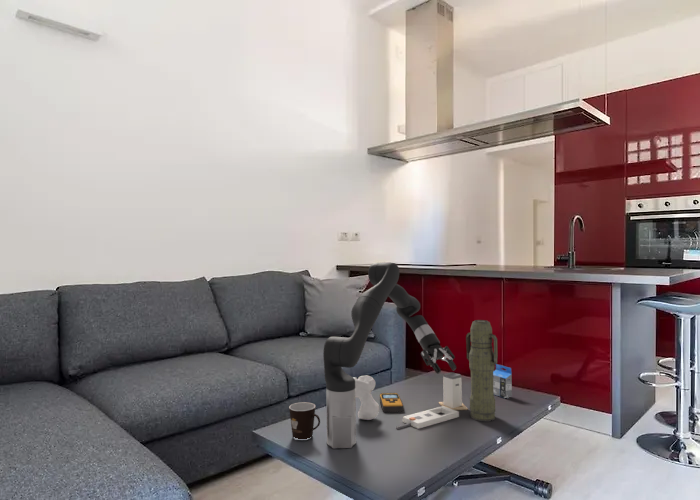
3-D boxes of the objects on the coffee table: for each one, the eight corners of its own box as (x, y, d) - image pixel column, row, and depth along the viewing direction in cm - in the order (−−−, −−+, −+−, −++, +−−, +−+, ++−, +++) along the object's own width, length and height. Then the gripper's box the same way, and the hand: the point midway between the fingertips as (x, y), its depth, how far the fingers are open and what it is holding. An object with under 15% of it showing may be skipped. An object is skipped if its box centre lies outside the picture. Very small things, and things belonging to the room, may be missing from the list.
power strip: (458, 416, 163) (458, 410, 163) (404, 432, 149) (404, 425, 149) (443, 410, 170) (443, 404, 170) (389, 425, 155) (389, 418, 155)
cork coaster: (467, 409, 170) (467, 408, 170) (444, 410, 170) (444, 409, 170) (460, 402, 179) (460, 401, 179) (438, 402, 179) (438, 401, 179)
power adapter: (462, 405, 174) (461, 374, 174) (453, 408, 171) (452, 376, 171) (452, 402, 178) (451, 372, 178) (443, 404, 175) (443, 374, 176)
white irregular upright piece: (370, 426, 155) (370, 382, 155) (343, 420, 161) (343, 378, 161) (383, 417, 163) (383, 376, 163) (357, 412, 169) (357, 372, 169)
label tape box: (489, 393, 190) (489, 364, 191) (496, 392, 192) (495, 363, 193) (505, 399, 183) (505, 369, 183) (512, 397, 185) (512, 367, 185)
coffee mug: (286, 434, 148) (286, 404, 148) (311, 430, 152) (310, 400, 152) (296, 448, 137) (295, 415, 138) (322, 443, 141) (322, 411, 141)
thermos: (472, 410, 170) (470, 318, 170) (502, 417, 162) (501, 320, 163) (462, 417, 163) (460, 320, 163) (493, 424, 155) (492, 323, 156)
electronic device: (382, 414, 168) (382, 405, 168) (378, 400, 184) (378, 392, 184) (404, 413, 169) (404, 404, 169) (399, 400, 184) (398, 391, 184)
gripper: (418, 334, 181) (438, 368, 171) (443, 330, 189) (464, 363, 179) (409, 345, 185) (429, 379, 175) (434, 341, 193) (455, 373, 183)
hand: (447, 371), depth 177 cm, fingers open, 8 cm apart
